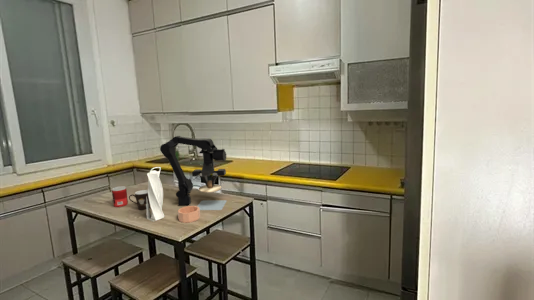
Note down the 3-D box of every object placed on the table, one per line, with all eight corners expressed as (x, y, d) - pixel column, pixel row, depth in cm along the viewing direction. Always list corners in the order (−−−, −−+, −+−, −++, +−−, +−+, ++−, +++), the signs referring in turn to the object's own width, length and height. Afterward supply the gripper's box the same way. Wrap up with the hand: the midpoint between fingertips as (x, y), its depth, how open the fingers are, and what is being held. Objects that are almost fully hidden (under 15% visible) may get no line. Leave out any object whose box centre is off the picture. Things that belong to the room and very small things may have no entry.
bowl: (175, 222, 151) (174, 213, 150) (182, 214, 162) (182, 205, 161) (196, 222, 150) (195, 213, 150) (202, 214, 161) (201, 205, 160)
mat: (193, 210, 167) (193, 209, 167) (201, 201, 183) (201, 200, 183) (221, 210, 166) (221, 209, 166) (227, 201, 182) (227, 200, 182)
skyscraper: (160, 214, 164) (155, 165, 160) (168, 217, 159) (164, 167, 154) (146, 219, 158) (141, 168, 153) (154, 222, 153) (149, 170, 148)
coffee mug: (155, 206, 176) (153, 190, 175) (144, 211, 168) (143, 194, 167) (139, 204, 180) (138, 189, 178) (129, 209, 172) (127, 193, 170)
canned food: (130, 203, 182) (128, 186, 180) (119, 208, 175) (117, 190, 173) (122, 202, 185) (120, 185, 184) (110, 206, 178) (108, 189, 176)
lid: (196, 192, 167) (195, 184, 166) (202, 186, 180) (201, 178, 179) (218, 192, 166) (218, 183, 165) (223, 185, 179) (222, 177, 178)
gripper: (188, 164, 163) (190, 191, 165) (221, 163, 161) (222, 190, 164) (194, 160, 174) (196, 185, 176) (225, 159, 172) (226, 184, 175)
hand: (210, 186), depth 172 cm, fingers closed on lid, 3 cm apart
